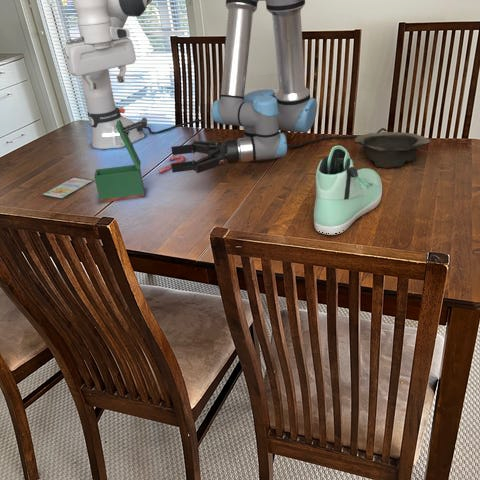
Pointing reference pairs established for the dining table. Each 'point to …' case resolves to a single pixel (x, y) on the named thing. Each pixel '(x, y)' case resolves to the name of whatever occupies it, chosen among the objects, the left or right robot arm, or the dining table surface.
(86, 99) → the left robot arm
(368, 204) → the sneaker
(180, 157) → the candy cane
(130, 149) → the lid
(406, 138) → the stone bowl
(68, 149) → the dining table surface
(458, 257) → the dining table surface
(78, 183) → the baking ingredient package
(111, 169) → the chest
